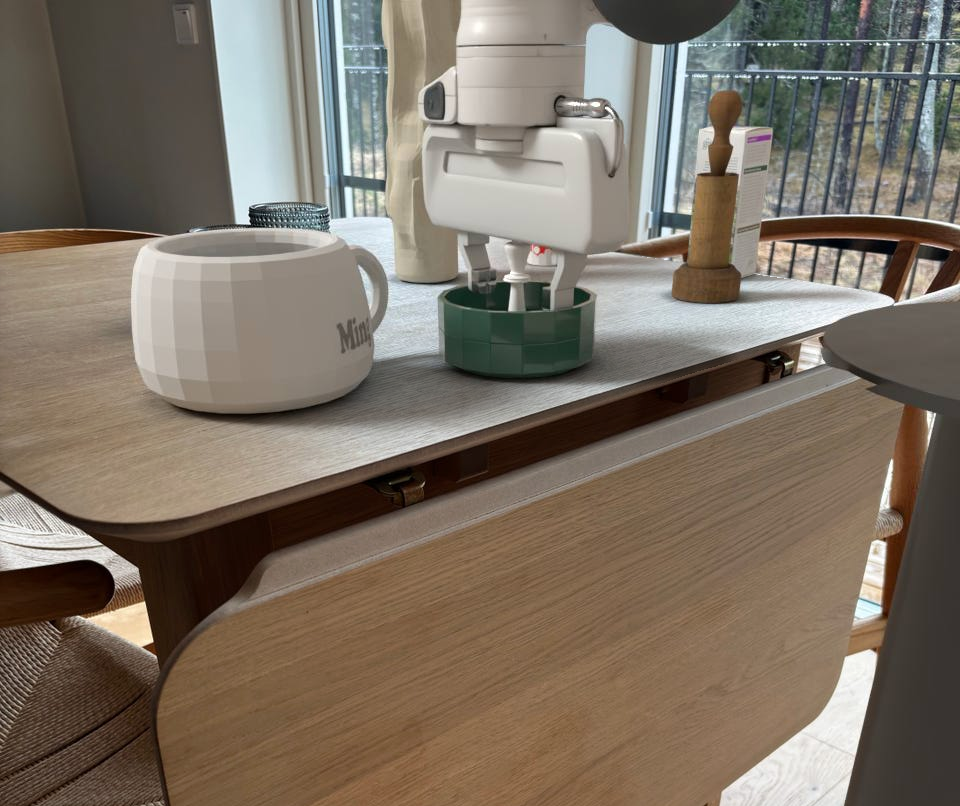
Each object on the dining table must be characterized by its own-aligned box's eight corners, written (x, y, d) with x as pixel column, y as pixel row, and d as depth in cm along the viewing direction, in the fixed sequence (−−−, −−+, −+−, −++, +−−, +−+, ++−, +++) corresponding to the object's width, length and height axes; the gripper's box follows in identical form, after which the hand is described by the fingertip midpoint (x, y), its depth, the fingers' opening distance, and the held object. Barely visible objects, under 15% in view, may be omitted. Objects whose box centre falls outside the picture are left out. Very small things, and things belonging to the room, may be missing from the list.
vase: (481, 278, 107) (479, -57, 92) (428, 290, 101) (417, -64, 86) (423, 269, 112) (413, -51, 97) (370, 280, 106) (350, -57, 91)
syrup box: (757, 274, 108) (776, 125, 100) (728, 282, 104) (746, 128, 97) (712, 268, 111) (727, 124, 104) (683, 275, 107) (697, 126, 100)
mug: (240, 441, 61) (217, 273, 56) (96, 392, 70) (65, 244, 65) (466, 369, 75) (464, 230, 70) (321, 337, 84) (309, 211, 79)
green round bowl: (625, 364, 76) (629, 298, 73) (501, 392, 70) (502, 320, 67) (529, 335, 84) (530, 274, 82) (411, 357, 78) (409, 292, 76)
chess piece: (551, 347, 78) (555, 212, 73) (543, 363, 74) (547, 221, 69) (490, 344, 79) (490, 211, 74) (480, 360, 75) (479, 220, 70)
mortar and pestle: (683, 304, 94) (704, 91, 85) (662, 291, 100) (679, 89, 91) (749, 301, 95) (776, 90, 86) (724, 288, 101) (747, 89, 92)
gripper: (659, 97, 62) (643, 320, 69) (473, 92, 76) (475, 277, 83) (584, 99, 59) (575, 333, 66) (404, 94, 73) (413, 287, 80)
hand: (518, 302), depth 75 cm, fingers open, 8 cm apart
